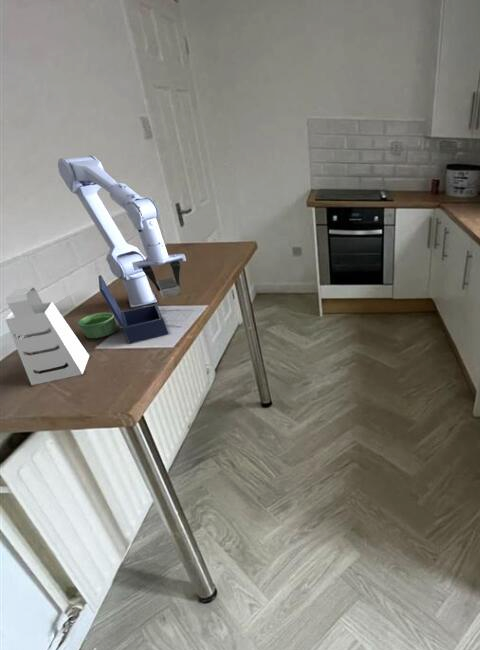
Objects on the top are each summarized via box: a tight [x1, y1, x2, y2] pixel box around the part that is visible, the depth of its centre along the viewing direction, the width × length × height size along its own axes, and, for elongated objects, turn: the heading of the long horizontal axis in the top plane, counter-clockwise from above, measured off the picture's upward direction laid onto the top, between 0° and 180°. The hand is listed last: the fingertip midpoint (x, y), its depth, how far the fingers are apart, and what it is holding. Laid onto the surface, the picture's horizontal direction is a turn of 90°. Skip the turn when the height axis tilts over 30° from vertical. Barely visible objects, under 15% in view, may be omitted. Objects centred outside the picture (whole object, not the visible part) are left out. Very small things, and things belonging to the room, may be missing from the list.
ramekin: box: [77, 312, 118, 339], centre depth 120 cm, size 9×9×4 cm
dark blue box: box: [121, 303, 169, 344], centre depth 120 cm, size 10×14×5 cm
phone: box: [156, 277, 182, 300], centre depth 131 cm, size 10×5×3 cm, turn 32°
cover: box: [98, 274, 124, 328], centre depth 114 cm, size 11×14×1 cm
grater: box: [4, 286, 90, 386], centre depth 98 cm, size 10×10×20 cm
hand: (168, 288), depth 131 cm, fingers closed on phone, 5 cm apart
